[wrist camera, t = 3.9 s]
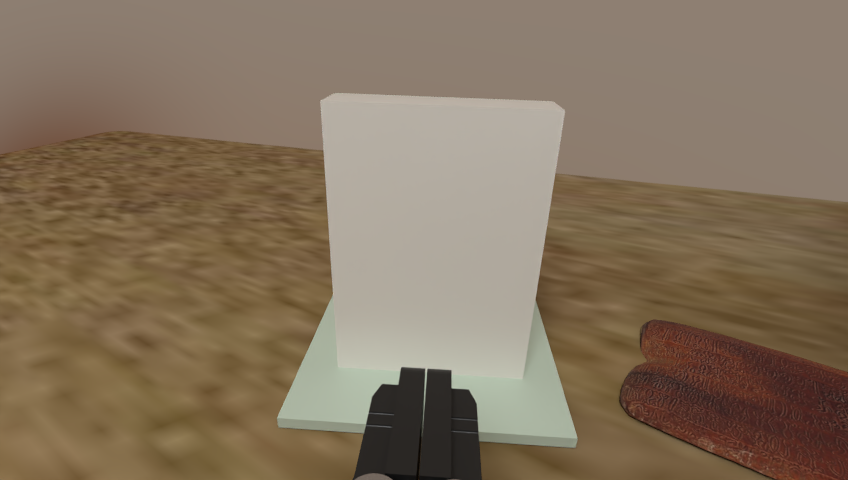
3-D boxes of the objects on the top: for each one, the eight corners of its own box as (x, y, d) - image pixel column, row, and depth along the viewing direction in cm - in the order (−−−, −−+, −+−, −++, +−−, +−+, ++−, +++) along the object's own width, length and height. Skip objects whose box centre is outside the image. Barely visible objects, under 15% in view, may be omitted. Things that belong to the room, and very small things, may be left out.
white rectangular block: (522, 379, 24) (565, 110, 18) (337, 367, 25) (320, 100, 19) (516, 348, 27) (552, 101, 21) (347, 337, 27) (335, 92, 21)
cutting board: (575, 447, 21) (577, 438, 21) (278, 427, 22) (276, 418, 21) (518, 254, 39) (519, 247, 39) (358, 245, 40) (358, 239, 39)
